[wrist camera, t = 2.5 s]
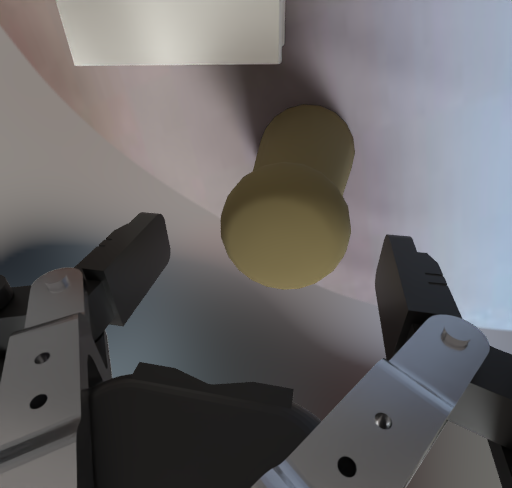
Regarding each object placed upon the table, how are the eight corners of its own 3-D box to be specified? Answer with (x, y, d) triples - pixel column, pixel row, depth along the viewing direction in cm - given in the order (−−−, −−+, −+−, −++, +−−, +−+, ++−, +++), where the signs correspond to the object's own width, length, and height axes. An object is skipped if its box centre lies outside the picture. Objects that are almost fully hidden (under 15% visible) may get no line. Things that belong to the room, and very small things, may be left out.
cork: (335, 208, 22) (330, 329, 13) (251, 184, 23) (192, 286, 14) (370, 119, 19) (396, 203, 10) (270, 92, 19) (207, 150, 10)
